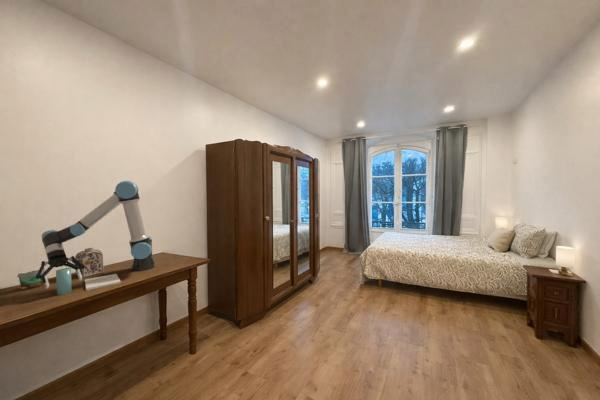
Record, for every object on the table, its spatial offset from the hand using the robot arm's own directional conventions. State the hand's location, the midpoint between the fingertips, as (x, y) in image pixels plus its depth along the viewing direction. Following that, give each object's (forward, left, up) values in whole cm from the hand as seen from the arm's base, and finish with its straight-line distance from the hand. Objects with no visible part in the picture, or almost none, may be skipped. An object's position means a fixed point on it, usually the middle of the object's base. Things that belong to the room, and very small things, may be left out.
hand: (65, 283), depth 135 cm
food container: (+13, -26, -6) cm, 30 cm away
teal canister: (0, -2, -6) cm, 6 cm away
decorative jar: (-12, -35, -6) cm, 37 cm away
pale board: (-17, -7, -6) cm, 19 cm away
